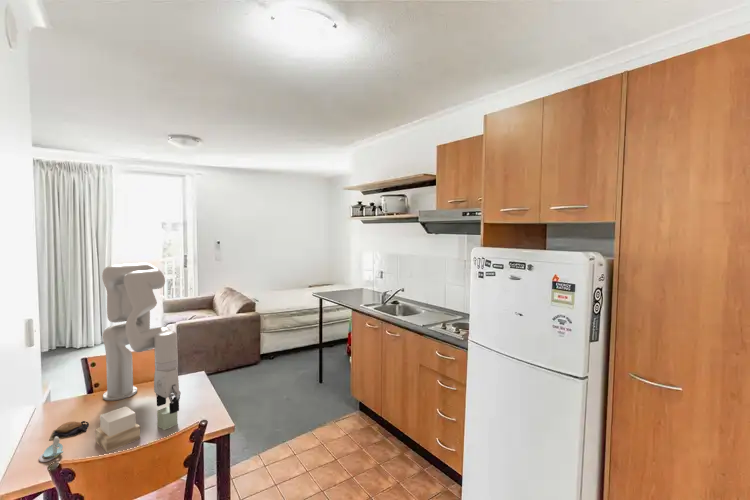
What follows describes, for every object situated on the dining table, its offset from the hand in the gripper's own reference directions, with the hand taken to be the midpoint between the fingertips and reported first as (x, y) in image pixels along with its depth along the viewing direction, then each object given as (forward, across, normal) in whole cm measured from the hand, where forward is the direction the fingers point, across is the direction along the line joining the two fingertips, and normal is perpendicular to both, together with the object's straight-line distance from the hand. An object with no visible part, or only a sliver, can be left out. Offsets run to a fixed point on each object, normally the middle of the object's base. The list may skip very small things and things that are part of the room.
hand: (167, 408), depth 138 cm
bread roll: (+7, -24, -23) cm, 34 cm away
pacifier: (+7, -12, -31) cm, 34 cm away
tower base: (+7, -4, -15) cm, 17 cm away
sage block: (+7, -1, 0) cm, 7 cm away
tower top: (+2, -4, -15) cm, 16 cm away
